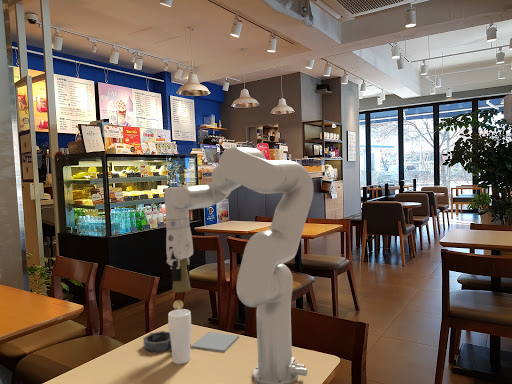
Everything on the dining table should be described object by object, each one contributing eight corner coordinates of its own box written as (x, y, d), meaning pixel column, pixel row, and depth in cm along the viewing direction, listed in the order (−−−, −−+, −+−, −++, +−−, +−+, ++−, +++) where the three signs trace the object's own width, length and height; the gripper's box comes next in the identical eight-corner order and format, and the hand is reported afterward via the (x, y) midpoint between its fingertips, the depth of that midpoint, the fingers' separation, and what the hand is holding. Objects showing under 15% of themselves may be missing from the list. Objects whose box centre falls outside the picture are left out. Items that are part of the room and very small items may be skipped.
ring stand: (194, 343, 132) (192, 296, 131) (178, 356, 123) (176, 305, 122) (155, 338, 138) (153, 293, 137) (138, 350, 129) (136, 301, 128)
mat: (239, 337, 136) (239, 335, 136) (224, 352, 125) (224, 350, 125) (208, 333, 141) (208, 331, 141) (191, 347, 129) (191, 345, 129)
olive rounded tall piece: (194, 288, 131) (192, 256, 131) (179, 293, 127) (177, 259, 126) (183, 286, 135) (181, 254, 135) (168, 290, 131) (166, 257, 130)
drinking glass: (187, 366, 116) (185, 317, 116) (166, 365, 118) (164, 316, 117) (195, 356, 123) (193, 309, 122) (175, 355, 124) (173, 308, 124)
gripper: (174, 227, 121) (177, 286, 122) (199, 221, 137) (202, 273, 137) (153, 227, 123) (157, 285, 124) (181, 221, 139) (184, 272, 140)
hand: (181, 278), depth 131 cm, fingers closed on olive rounded tall piece, 4 cm apart
